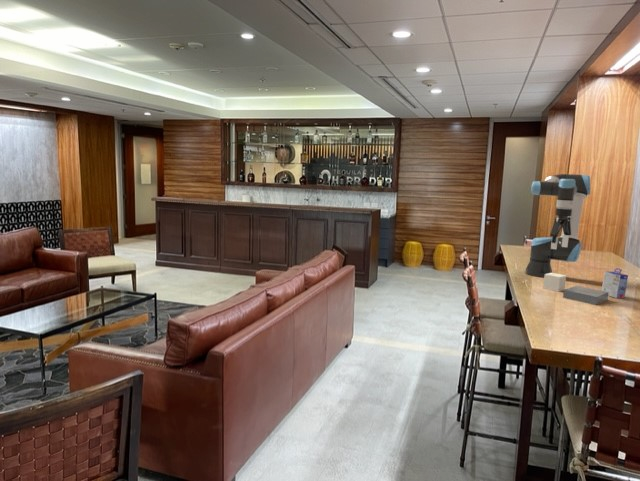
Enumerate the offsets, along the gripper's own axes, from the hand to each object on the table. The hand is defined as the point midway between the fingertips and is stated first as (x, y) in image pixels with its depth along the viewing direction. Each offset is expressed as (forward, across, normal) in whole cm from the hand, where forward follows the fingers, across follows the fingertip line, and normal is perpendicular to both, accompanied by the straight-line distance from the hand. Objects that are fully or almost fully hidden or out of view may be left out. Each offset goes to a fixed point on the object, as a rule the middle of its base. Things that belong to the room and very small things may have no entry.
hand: (559, 248), depth 243 cm
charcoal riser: (+23, -6, -18) cm, 29 cm away
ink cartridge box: (+23, +14, -24) cm, 36 cm away
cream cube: (+23, 0, 0) cm, 23 cm away
